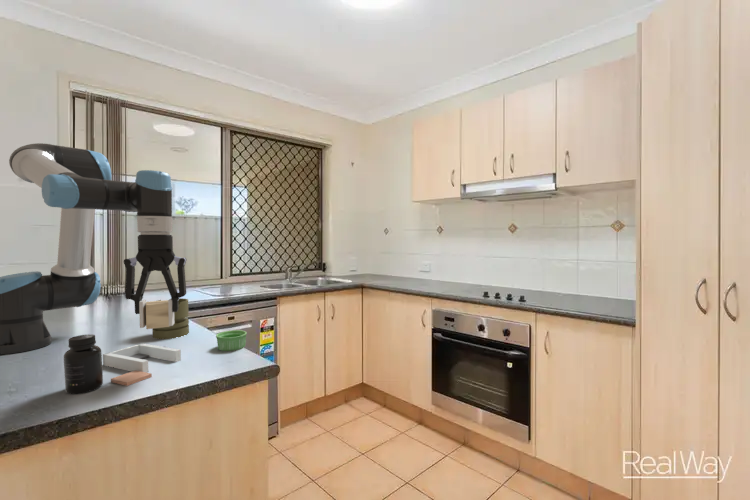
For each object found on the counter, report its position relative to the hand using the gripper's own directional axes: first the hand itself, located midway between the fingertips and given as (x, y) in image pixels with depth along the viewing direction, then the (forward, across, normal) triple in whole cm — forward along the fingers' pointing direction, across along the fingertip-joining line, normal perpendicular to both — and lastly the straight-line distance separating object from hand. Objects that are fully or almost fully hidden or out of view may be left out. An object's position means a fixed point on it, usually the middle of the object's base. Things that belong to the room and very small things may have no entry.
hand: (157, 325), depth 94 cm
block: (0, 0, +1) cm, 1 cm away
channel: (+12, -6, +10) cm, 17 cm away
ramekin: (+13, +16, +18) cm, 27 cm away
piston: (+13, -6, +40) cm, 43 cm away
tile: (+12, -5, -2) cm, 14 cm away
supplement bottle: (+13, -14, -5) cm, 19 cm away
